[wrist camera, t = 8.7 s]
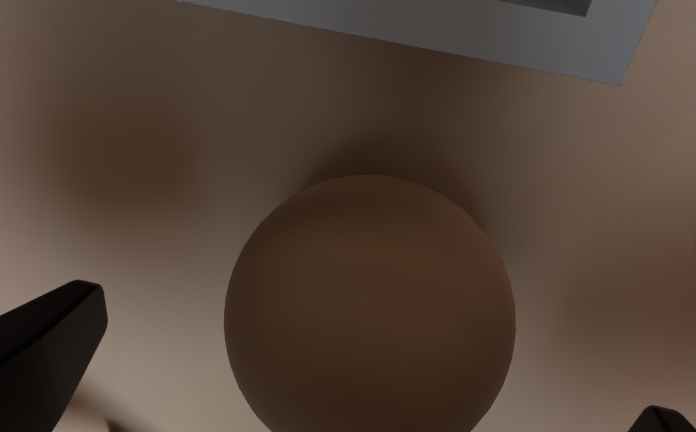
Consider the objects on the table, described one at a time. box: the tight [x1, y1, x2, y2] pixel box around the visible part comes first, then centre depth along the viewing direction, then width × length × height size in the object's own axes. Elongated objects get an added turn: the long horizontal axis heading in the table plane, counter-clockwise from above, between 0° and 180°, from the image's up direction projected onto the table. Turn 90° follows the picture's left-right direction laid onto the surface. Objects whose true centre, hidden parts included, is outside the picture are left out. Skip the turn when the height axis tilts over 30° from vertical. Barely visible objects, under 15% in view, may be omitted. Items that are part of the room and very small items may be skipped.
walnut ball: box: [224, 174, 516, 432], centre depth 9 cm, size 5×5×5 cm
